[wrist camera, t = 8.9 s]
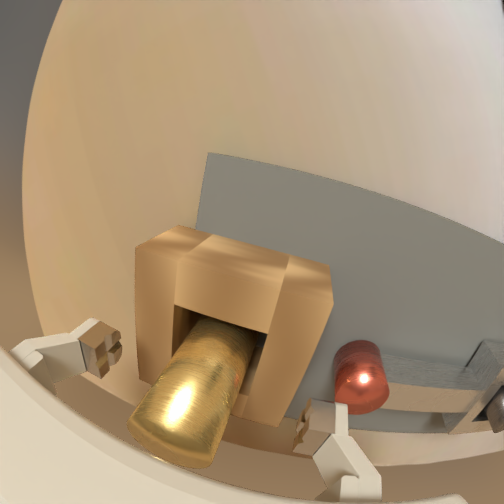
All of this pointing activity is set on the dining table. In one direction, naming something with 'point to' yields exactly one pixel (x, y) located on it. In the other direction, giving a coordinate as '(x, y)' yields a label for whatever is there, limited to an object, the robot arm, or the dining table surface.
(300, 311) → the slot block
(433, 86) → the dining table surface
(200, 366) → the pin
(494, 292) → the mat
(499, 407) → the post
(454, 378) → the knob socket block
